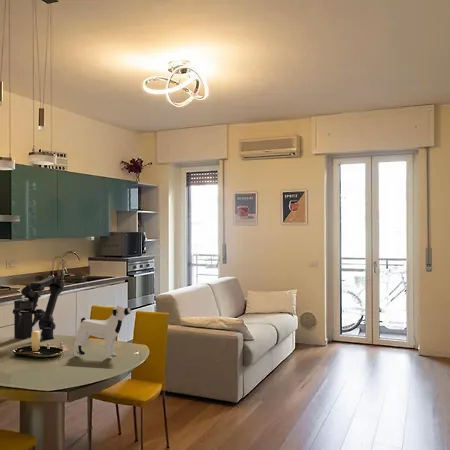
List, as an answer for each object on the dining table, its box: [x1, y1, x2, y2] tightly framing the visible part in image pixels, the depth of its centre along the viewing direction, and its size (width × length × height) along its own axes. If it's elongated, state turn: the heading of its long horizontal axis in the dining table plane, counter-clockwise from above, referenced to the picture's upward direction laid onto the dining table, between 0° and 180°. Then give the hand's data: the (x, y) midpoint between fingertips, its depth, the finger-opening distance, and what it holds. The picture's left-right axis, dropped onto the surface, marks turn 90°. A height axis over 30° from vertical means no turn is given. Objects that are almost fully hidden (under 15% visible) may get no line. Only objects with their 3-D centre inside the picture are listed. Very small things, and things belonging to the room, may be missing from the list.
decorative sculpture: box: [73, 305, 132, 360], centre depth 259 cm, size 10×32×30 cm, turn 78°
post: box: [31, 330, 41, 351], centre depth 267 cm, size 4×4×11 cm
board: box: [33, 341, 70, 354], centre depth 269 cm, size 26×14×4 cm, turn 112°
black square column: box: [13, 295, 33, 340], centre depth 302 cm, size 8×8×28 cm
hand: (25, 326), depth 274 cm, fingers open, 9 cm apart
